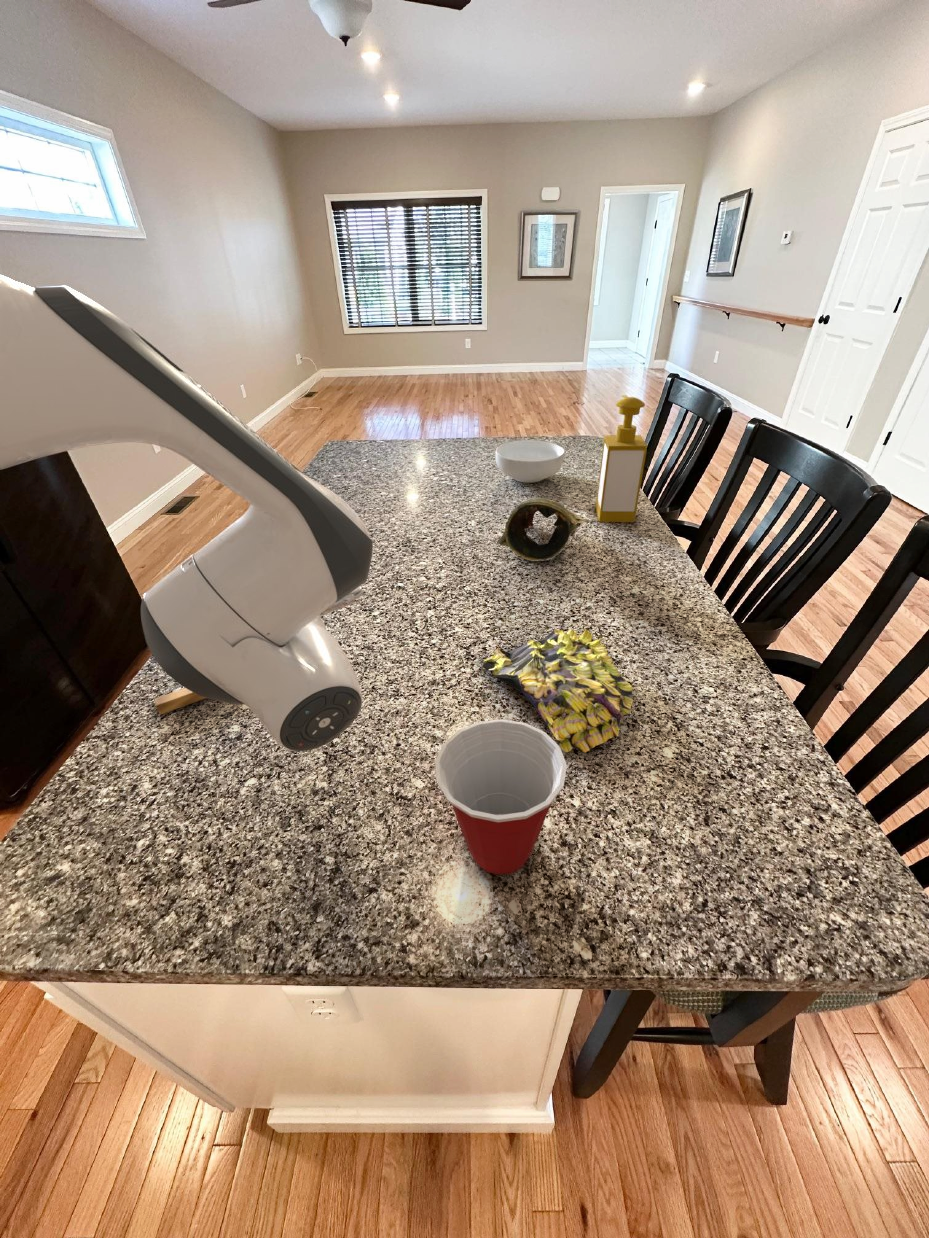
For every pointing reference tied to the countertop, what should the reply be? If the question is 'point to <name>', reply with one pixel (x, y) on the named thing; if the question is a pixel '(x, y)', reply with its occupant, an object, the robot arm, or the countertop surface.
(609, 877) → the countertop surface
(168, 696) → the wooden bar
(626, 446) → the soap bottle
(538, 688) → the banana patterned fabric
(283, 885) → the countertop surface
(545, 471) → the cereal bowl
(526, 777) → the plastic cup
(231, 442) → the robot arm
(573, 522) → the pot
